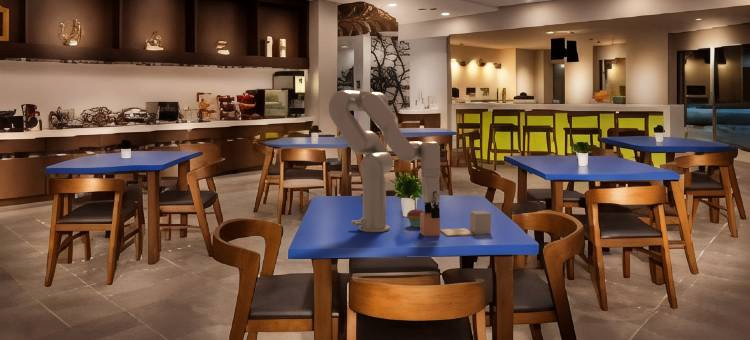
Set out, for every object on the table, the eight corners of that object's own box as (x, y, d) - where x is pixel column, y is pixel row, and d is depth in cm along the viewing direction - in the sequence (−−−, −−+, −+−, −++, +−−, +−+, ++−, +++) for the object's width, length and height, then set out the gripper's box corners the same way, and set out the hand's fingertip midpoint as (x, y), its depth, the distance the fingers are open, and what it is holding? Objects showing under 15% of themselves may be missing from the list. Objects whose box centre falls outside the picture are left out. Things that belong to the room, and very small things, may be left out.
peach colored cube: (424, 236, 240) (424, 216, 239) (419, 232, 246) (420, 213, 245) (439, 235, 241) (440, 215, 240) (435, 232, 247) (435, 212, 247)
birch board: (447, 236, 239) (447, 234, 239) (439, 230, 250) (439, 229, 250) (474, 235, 241) (474, 233, 241) (465, 229, 252) (465, 228, 252)
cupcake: (403, 224, 262) (403, 197, 261) (421, 223, 266) (421, 195, 264) (412, 228, 255) (412, 200, 253) (430, 227, 258) (430, 198, 257)
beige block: (475, 234, 244) (475, 214, 243) (470, 230, 250) (470, 211, 249) (490, 233, 245) (490, 213, 244) (484, 230, 251) (485, 210, 250)
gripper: (416, 171, 249) (417, 213, 250) (427, 175, 232) (428, 220, 233) (434, 170, 250) (435, 212, 252) (446, 174, 233) (447, 219, 235)
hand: (432, 216), depth 243 cm, fingers open, 9 cm apart
